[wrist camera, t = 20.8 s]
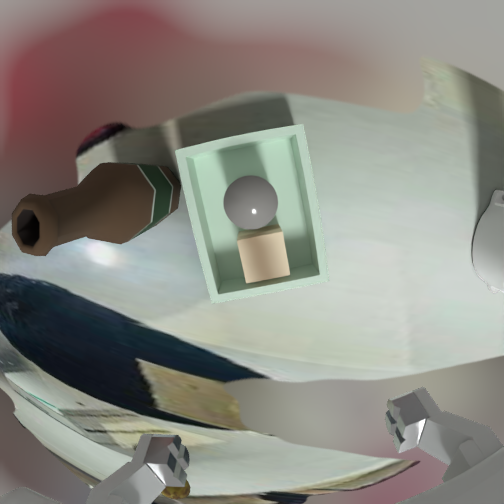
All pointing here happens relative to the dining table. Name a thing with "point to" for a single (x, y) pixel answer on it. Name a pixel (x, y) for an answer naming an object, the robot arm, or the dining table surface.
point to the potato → (177, 491)
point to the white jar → (250, 202)
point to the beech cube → (263, 253)
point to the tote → (287, 216)
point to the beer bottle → (97, 207)
